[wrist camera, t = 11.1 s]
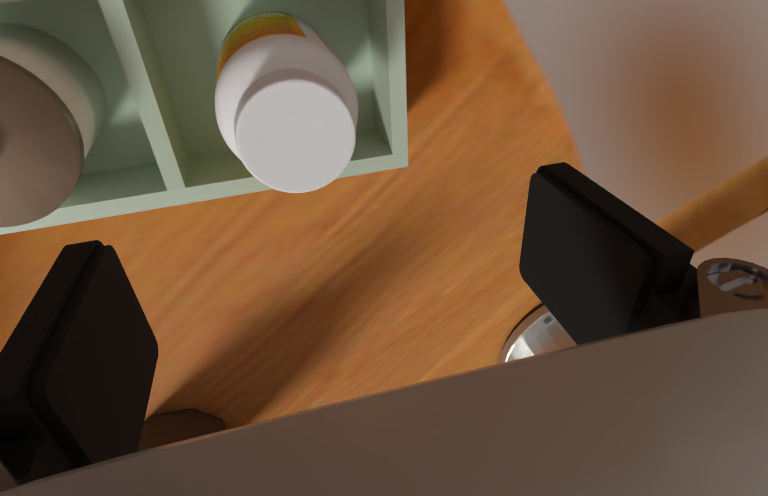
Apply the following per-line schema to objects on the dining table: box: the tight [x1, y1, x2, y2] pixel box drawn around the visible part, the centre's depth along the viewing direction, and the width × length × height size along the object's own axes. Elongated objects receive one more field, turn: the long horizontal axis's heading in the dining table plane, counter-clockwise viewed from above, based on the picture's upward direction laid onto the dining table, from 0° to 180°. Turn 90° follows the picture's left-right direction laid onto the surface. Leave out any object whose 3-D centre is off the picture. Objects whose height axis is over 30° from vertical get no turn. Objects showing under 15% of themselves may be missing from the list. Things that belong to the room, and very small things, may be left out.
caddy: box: [0, 0, 408, 235], centre depth 21 cm, size 22×10×4 cm, turn 93°
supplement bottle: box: [215, 10, 358, 193], centre depth 19 cm, size 5×5×10 cm
